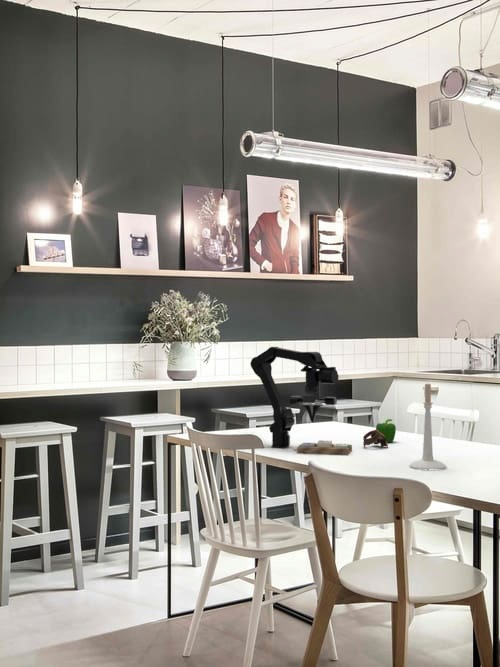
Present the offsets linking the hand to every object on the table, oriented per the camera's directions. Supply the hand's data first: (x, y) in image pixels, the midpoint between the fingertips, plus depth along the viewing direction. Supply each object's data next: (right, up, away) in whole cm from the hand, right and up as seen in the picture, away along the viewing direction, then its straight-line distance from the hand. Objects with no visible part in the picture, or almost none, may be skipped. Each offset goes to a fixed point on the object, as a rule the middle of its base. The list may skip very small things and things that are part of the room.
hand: (312, 421), depth 346 cm
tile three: (+11, -11, -8) cm, 17 cm away
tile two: (+4, -10, -6) cm, 12 cm away
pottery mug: (+26, -12, +7) cm, 29 cm away
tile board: (+4, -11, -6) cm, 14 cm away
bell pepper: (+33, -11, +21) cm, 40 cm away
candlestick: (+38, -12, -41) cm, 57 cm away
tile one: (-2, -11, -4) cm, 12 cm away
